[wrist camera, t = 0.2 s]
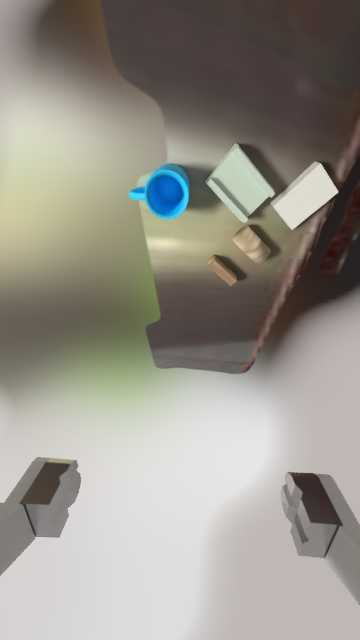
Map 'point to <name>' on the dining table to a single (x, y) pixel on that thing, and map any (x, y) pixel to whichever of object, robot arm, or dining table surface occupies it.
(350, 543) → the robot arm
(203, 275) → the dining table surface
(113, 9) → the dining table surface
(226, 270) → the wooden brick
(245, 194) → the cradle
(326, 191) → the slab
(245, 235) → the roller
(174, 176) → the mug
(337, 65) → the dining table surface
